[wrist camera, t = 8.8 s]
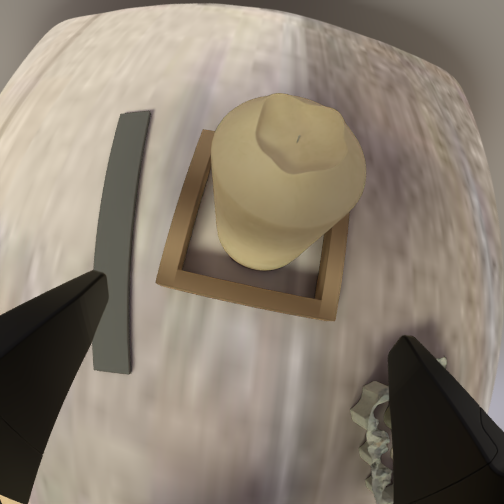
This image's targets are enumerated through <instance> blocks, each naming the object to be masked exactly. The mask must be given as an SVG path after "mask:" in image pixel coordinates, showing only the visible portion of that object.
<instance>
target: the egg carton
mask: <svg viewBox="0 0 504 504" xmlns="http://www.w3.org/2000/svg"><path fill="white" fill-rule="evenodd" d="M437 360H438V362H439V363H440V364H441V365H442V366H443V367H444V368H445V369H446V364H447V361H446V358H445V356H444V357H443V358H441V359H437ZM386 401H389V386H386V385H384V384H381V383H379V382H377V381H373V382H371V383H369V384H367V385H365V386H363V392H362V396H361V399H360V401H359V402H358V403H357V404H356V405H355V406H354V407H353V408H351V409H350V412H351V416H352V420H353V421H354V422H355V423H357V424H358V425H360V426H361V427H362V428H364V429H366V430H367V433H366V437H367V441H366V442H365V443H364V444H363V445H362V446H361V447H359V452H360V456H361V458H362V459H363V460H364V461H365V462H367V463H368V464H369V465H370V466H371V471H372V475H371V476H370V477H369V478H367V479H366V486H367V488H368V489H369V490H370V491H371V492H372V493H373V494H374V497H375V500H376V504H393V484H392V485H390V486H388V487H386V486H387V485H388V484H389V483H391V482H390V479H391V473H392V472H393V471H392V470H390V469H388V468H387V467H385V466H384V465H383V464H382V463H381V458H380V457H381V455H382V454H383V453H385V452H387V451H388V447H387V443H390V440H389V436H388V434H387V433H386V432H385V431H382V430H379V429H378V428H377V425H378V424H379V421H378V419H376V418H375V417H374V413H373V411H374V409H375V408H376V407H377V405H378V404H381V403H384V402H386ZM384 423H385V424H386V425H387V426H388V427H389V428H390V429H391V417H390V407H388V408H387V410H386V412H385V414H384ZM390 456H391V458H392V459H393V446H392V448H391V452H390ZM385 487H386V488H385Z"/></svg>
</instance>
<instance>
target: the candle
mask: <svg viewBox="0 0 504 504" xmlns="http://www.w3.org/2000/svg"><path fill="white" fill-rule="evenodd" d="M211 165H212V178H213V190H214V201H215V213H216V223H217V231H218V236H219V239H220V242H221V244H222V246H223V248H224V249H225V251H226V252H227V253H228V254H229V256H230V257H231V258H233V259H234V260H235V261H236V262H238V263H239V264H241V265H243V266H245V267H247V268H250V269H254V270H264V271H265V270H274V269H278V268H280V267H283V266H285V265H287V264H288V263H290V262H291V261H293V260H294V259H295V258H297V257H298V256H299V255H300V254H301V253H303V252H304V251H305V250H306V249H307V248H308V247H310V246H311V245H312V244H313V243H314V242H315V241H317V240H318V239H319V238H320V237H321V236H322V235H324V234H325V233H326V232H327V231H328V230H329V229H330V228H332V227H333V226H334V225H335V224H336V223H337V222H338V221H340V220H341V219H342V218H343V217H344V216H345V215H346V214H347V213H348V212H349V211H350V210H351V209H352V208H353V207H354V206H355V205H356V203H357V202H358V201H359V199H360V197H361V195H362V193H363V189H364V186H365V181H366V163H365V158H364V155H363V151H362V149H361V146H360V144H359V142H358V140H357V139H356V137H355V135H354V134H353V133H352V131H351V130H350V128H349V127H348V126H347V124H346V123H345V121H344V119H343V117H342V116H341V114H340V113H339V112H338V111H337V110H335V109H333V108H330V107H325V106H323V105H321V104H319V103H316V102H314V101H311V100H309V99H306V98H302V97H298V96H292V95H288V94H282V93H276V94H272V95H269V96H264V97H259V98H255V99H252V100H249V101H247V102H245V103H242V104H241V105H239V106H237V107H236V108H234V109H233V110H232V111H231V112H229V113H228V114H227V115H226V116H225V117H224V118H223V120H222V121H221V123H220V124H219V125H218V127H217V129H216V131H215V133H214V137H213V140H212V145H211Z"/></svg>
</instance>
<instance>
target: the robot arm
mask: <svg viewBox="0 0 504 504" xmlns="http://www.w3.org/2000/svg"><path fill="white" fill-rule="evenodd" d="M108 300H109V291H108V283H107V276H106V274H105V273H103V272H100V271H96V270H92V271H90V272H87V273H85V274H83V275H81V276H79V277H77V278H74V279H72V280H70V281H68V282H66V283H64V284H62V285H60V286H58V287H56V288H53V289H51V290H49V291H47V292H45V293H43V294H41V295H39V296H37V297H35V298H33V299H31V300H29V301H27V302H25V303H23V304H21V305H19V306H17V307H15V308H13V309H11V310H9V311H8V312H6V313H4V314H2V315H0V495H2V496H5V497H7V498H9V499H12V500H14V501H17V502H20V503H22V504H28V502H29V499H30V495H31V491H32V488H33V484H34V481H35V478H36V475H37V471H38V468H39V465H40V462H41V459H42V457H43V455H42V454H43V453H44V450H45V448H46V445H47V442H48V439H49V437H50V434H51V432H52V429H53V427H54V424H55V422H56V419H57V417H58V414H59V412H60V409H61V407H62V405H63V402H64V400H65V398H66V396H67V393H68V391H69V389H70V387H71V385H72V382H73V380H74V378H75V376H76V374H77V372H78V370H79V368H80V366H81V363H82V361H83V359H84V357H85V355H86V353H87V351H88V349H89V347H90V345H91V343H92V341H93V338H94V336H95V333H96V330H97V328H98V325H99V323H100V320H101V318H102V315H103V313H104V311H105V308H106V306H107V303H108ZM388 379H389V407H390V417H391V430H392V446H393V504H504V432H503V431H502V430H501V429H500V428H499V427H498V426H497V425H496V424H495V422H494V421H493V420H492V419H491V418H490V417H489V416H488V415H487V414H486V412H485V411H484V410H483V409H482V408H481V407H480V406H479V405H478V403H477V402H476V401H475V400H474V399H473V398H472V397H471V396H470V395H469V393H468V392H467V391H466V390H465V389H464V388H463V387H462V386H461V385H460V384H459V383H458V382H457V380H456V379H455V378H454V377H453V376H452V375H451V374H450V373H449V372H448V371H447V370H446V369H445V368H444V367H443V366H442V365H441V364H440V363H439V362H438V360H437V359H436V358H435V357H434V356H433V355H432V354H431V353H430V352H429V351H428V350H427V349H426V348H425V347H424V346H423V345H422V344H421V343H420V342H419V341H418V340H417V339H416V338H415V337H413V336H407V335H403V336H402V337H400V338H399V340H398V341H397V343H396V344H395V345H394V347H393V348H392V349H391V351H390V352H389V355H388ZM0 504H2V503H1V501H0Z"/></svg>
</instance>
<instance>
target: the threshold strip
mask: <svg viewBox="0 0 504 504" xmlns="http://www.w3.org/2000/svg"><path fill="white" fill-rule="evenodd" d="M150 115H151V113H150V111H142V112H133V113H125V114H120V118H119V121H118V125H117V128H116V132H115V136H114V140H113V144H112V148H111V153H110V157H109V162H108V167H107V171H106V176H105V182H104V187H103V193H102V199H101V205H100V212H99V219H98V227H97V235H96V245H95V256H94V269H93V270H96V271H100V272H103V273H105V274H106V276H107V283H108V291H109V300H108V303H107V306H106V308H105V311H104V313H103V315H102V318H101V320H100V323H99V325H98V328H97V330H96V333H95V336H94V338H93V341H92V348H93V366H94V370H97V371H104V372H112V373H120V374H131V364H130V339H129V290H130V265H131V249H132V236H133V225H134V215H135V206H136V197H137V190H138V182H139V175H140V169H141V163H142V157H143V151H144V145H145V140H146V135H147V130H148V125H149V120H150Z"/></svg>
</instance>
